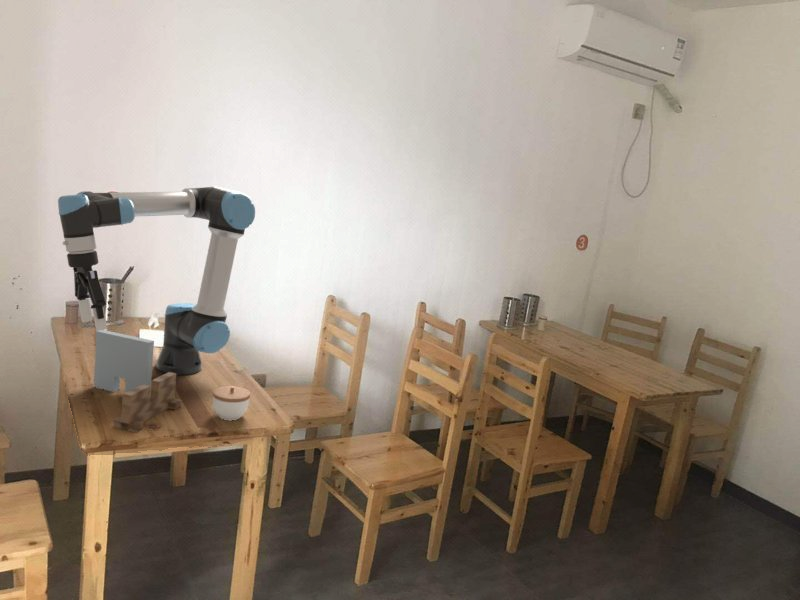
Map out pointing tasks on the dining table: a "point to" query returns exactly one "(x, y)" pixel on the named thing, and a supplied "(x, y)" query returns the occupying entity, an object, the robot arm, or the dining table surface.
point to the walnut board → (147, 402)
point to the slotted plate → (122, 361)
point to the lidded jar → (230, 402)
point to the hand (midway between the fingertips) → (94, 325)
